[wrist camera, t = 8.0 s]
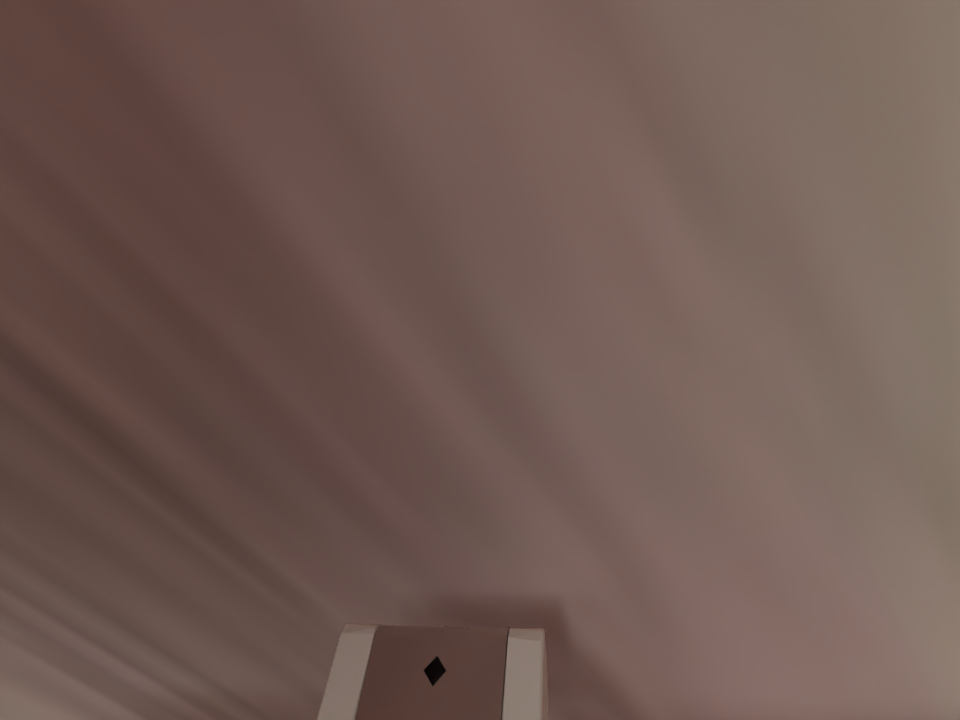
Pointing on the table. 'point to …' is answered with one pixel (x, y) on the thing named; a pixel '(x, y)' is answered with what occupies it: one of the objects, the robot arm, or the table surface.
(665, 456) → the table surface
